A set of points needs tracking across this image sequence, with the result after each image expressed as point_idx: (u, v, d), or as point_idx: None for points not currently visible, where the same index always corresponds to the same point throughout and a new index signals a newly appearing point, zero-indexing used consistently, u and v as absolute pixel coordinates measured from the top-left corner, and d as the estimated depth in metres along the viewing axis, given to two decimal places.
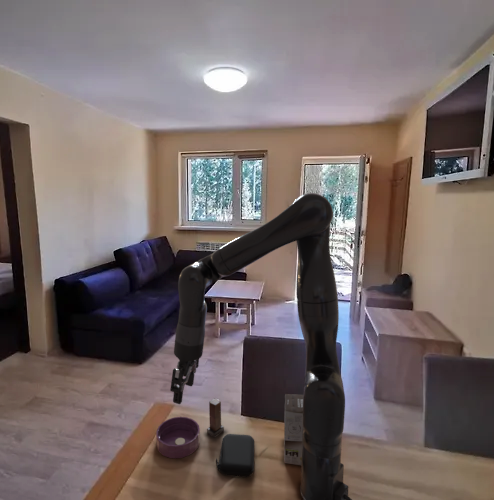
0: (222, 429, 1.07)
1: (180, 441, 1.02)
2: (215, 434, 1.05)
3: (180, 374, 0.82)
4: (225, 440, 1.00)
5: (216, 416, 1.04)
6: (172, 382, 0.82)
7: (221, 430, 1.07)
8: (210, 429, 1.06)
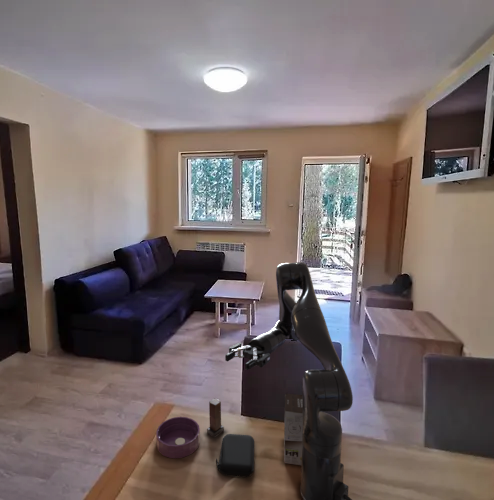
0: (222, 429, 1.07)
1: (180, 441, 1.02)
2: (215, 434, 1.05)
3: None
4: (225, 440, 1.00)
5: (216, 416, 1.04)
6: None
7: (221, 430, 1.07)
8: (210, 429, 1.06)
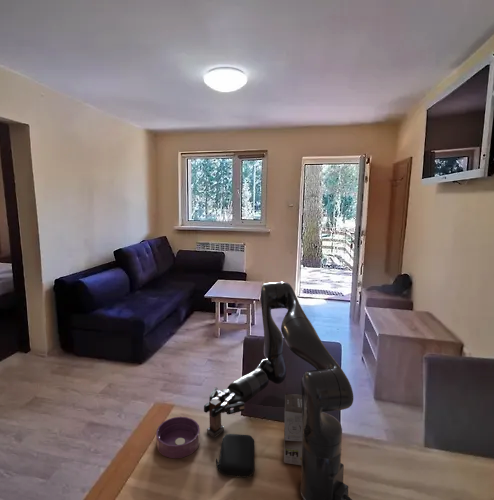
0: (222, 429, 1.07)
1: (180, 441, 1.02)
2: (215, 434, 1.05)
3: None
4: (225, 440, 1.00)
5: (216, 416, 1.04)
6: None
7: (221, 430, 1.07)
8: (210, 429, 1.06)
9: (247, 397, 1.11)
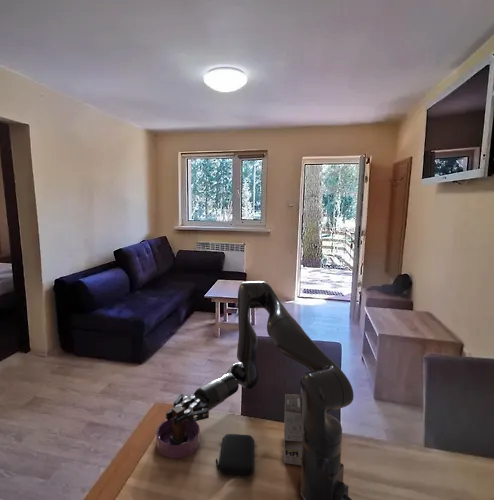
0: (186, 437, 1.02)
1: None
2: (177, 443, 1.00)
3: None
4: (225, 440, 1.00)
5: (178, 424, 1.00)
6: None
7: (184, 438, 1.02)
8: (173, 437, 1.01)
9: (213, 403, 1.07)
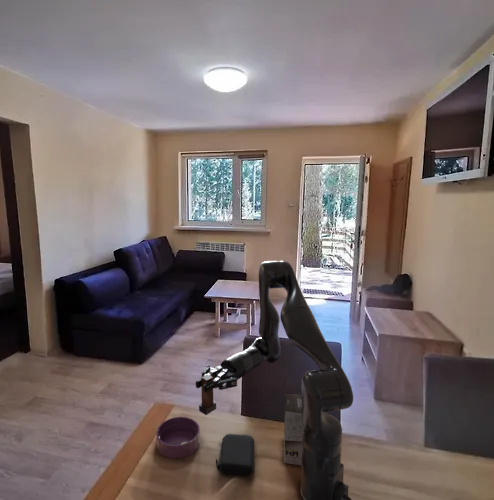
0: (214, 405, 1.05)
1: None
2: (207, 410, 1.02)
3: None
4: (225, 440, 1.00)
5: (208, 392, 1.02)
6: None
7: (213, 406, 1.04)
8: (202, 405, 1.04)
9: (240, 374, 1.09)
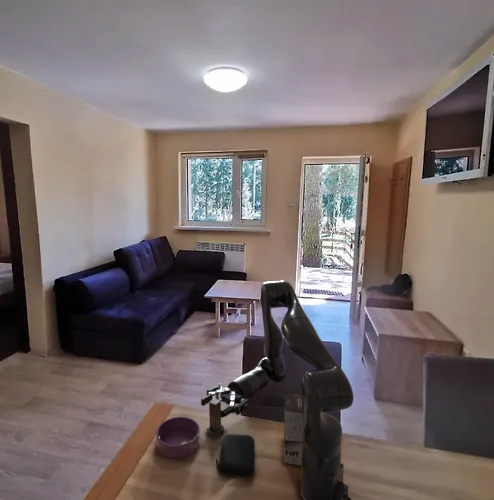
0: (222, 429, 1.07)
1: None
2: (215, 434, 1.05)
3: None
4: (225, 440, 1.00)
5: (216, 416, 1.05)
6: None
7: (221, 430, 1.07)
8: (210, 429, 1.06)
9: (247, 395, 1.11)
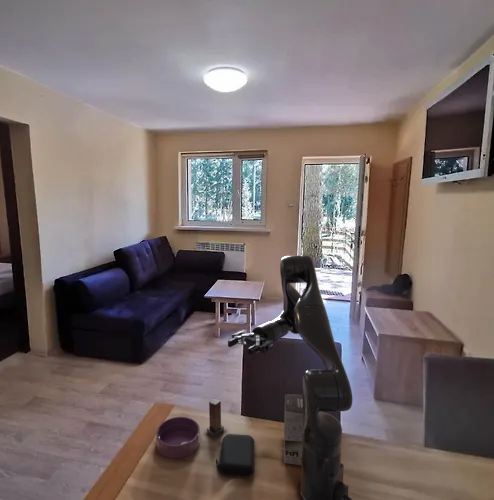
0: (222, 429, 1.07)
1: None
2: (215, 434, 1.05)
3: None
4: (225, 440, 1.00)
5: (216, 416, 1.05)
6: None
7: (221, 430, 1.07)
8: (210, 429, 1.06)
9: (271, 339, 1.18)
